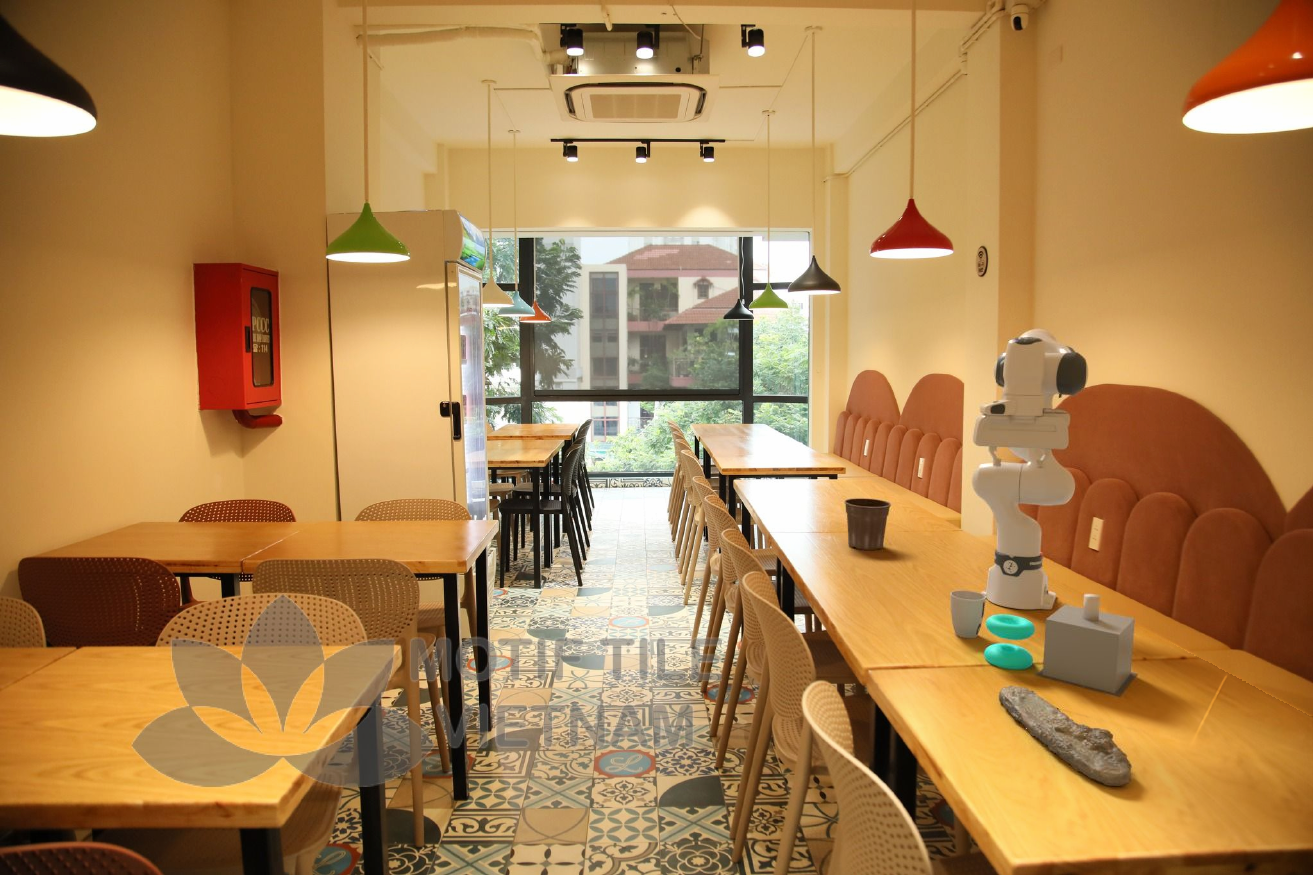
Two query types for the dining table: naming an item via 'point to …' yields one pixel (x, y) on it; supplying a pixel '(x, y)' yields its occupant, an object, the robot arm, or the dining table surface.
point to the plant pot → (866, 522)
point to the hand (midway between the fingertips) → (1018, 467)
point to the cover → (1089, 646)
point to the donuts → (1009, 653)
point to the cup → (967, 612)
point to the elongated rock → (1069, 737)
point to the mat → (1118, 693)
